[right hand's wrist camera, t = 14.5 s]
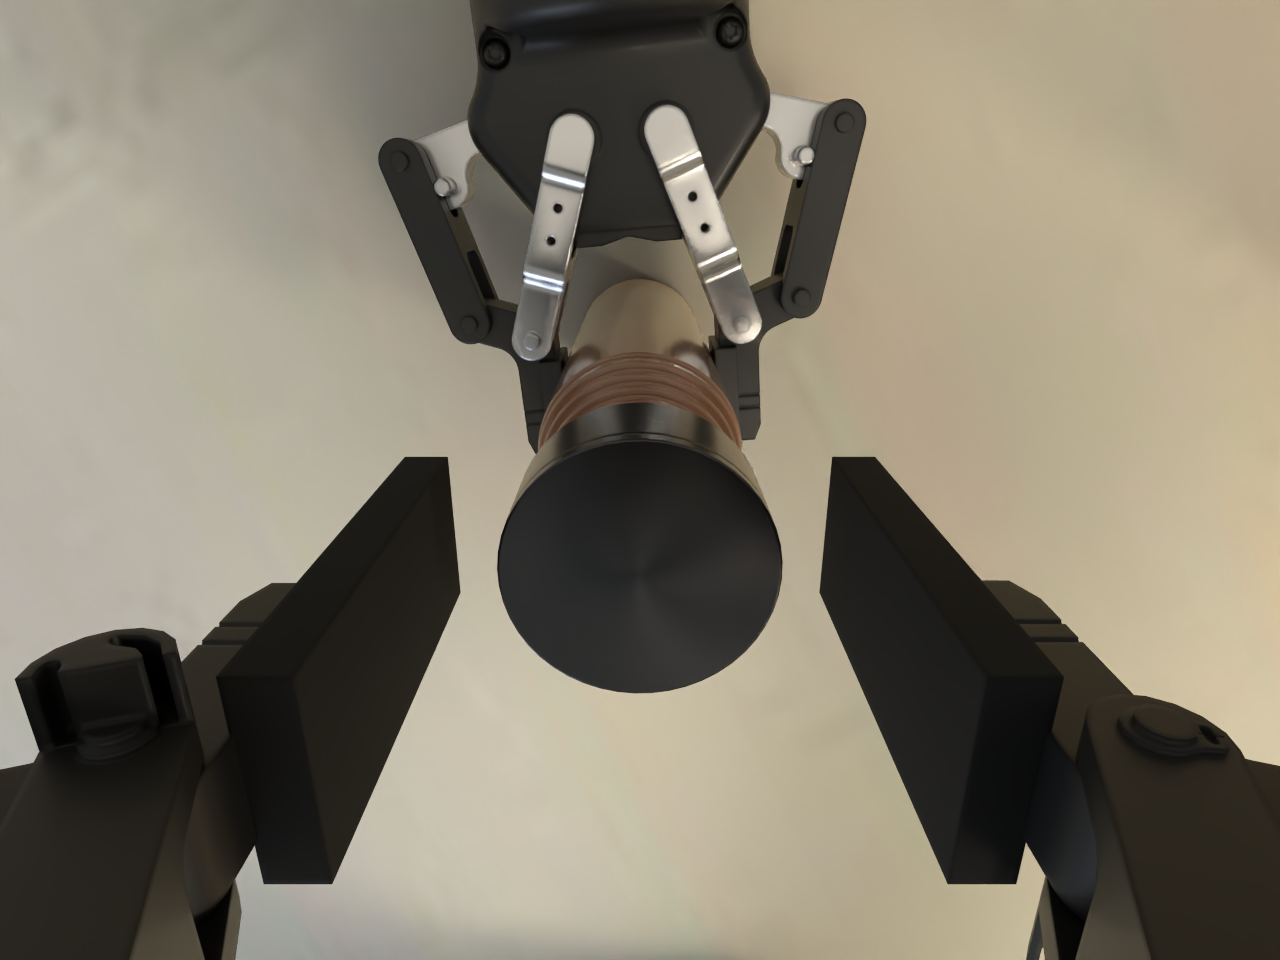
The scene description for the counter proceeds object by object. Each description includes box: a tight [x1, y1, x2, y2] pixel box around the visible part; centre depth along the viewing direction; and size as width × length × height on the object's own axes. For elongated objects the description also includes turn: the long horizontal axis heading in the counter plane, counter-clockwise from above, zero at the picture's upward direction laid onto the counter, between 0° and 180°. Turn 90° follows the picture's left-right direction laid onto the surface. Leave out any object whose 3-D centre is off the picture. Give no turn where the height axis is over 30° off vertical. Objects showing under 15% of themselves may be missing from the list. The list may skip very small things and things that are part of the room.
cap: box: [497, 402, 783, 693], centre depth 13 cm, size 5×5×2 cm
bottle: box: [538, 279, 742, 451], centre depth 22 cm, size 5×5×20 cm
